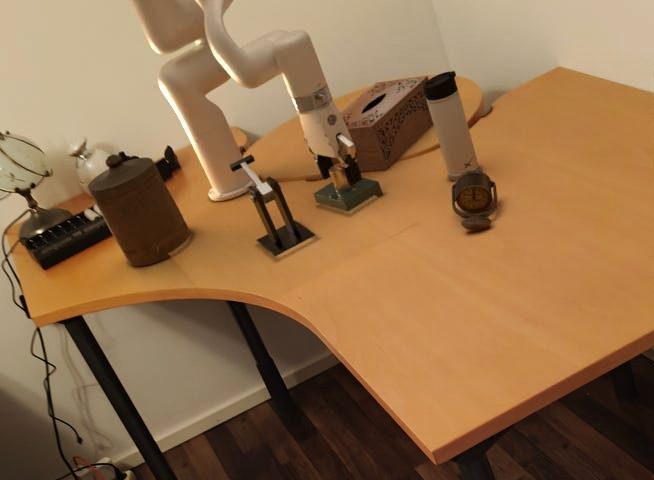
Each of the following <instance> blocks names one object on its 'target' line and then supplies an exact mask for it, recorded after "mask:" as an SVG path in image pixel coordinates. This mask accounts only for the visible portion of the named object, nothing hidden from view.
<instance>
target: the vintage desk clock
mask: <svg viewBox="0 0 654 480" xmlns="http://www.w3.org/2000/svg"><path fill="white" fill-rule="evenodd" d="M450 189H451V191H450V192H451V207H452V211H453V212H454V213H455V214H456V215H458V217H461V218H463V220H461V222H460V225H461V226H462V227H463V228H464V229H466V231H467V230H468V231H472V232H475V231H476V232H477V231H481V230H484V229H486V228H488V227H489V226H490V225H492V220H491V219H490V218H489V217H490V216H492V215H493V214H494V213H495V212H496V211H497V209H498V191H497V184H496V182H495V181H493V180H491V178H490V176H489V175H488V174H487V173H486V172H483V171H482V170H479V171H478V170H470V171H467V172H464V173H463V174H461V175H460V176H459V177H458V179H457V181H455V183H453V184H452V185H451V188H450ZM492 190H493V191H492ZM492 192H493V193H492ZM493 201H494V205H493V207H492V208H491V209H489V210H488V211H486V212H483V211H485V210H486V209H488V208H489V207H490V206H491V204H492V202H493ZM456 205H457V206H458V208H459V209H460V210H462V211H460V210H459V209H458V208H457V206H456ZM464 212H466V213H464ZM479 212H480V214H479ZM481 212H483V213H481ZM473 213H478V214H473Z"/></svg>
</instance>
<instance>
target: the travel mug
mask: <svg viewBox="0 0 654 480" xmlns="http://www.w3.org/2000/svg"><path fill="white" fill-rule="evenodd" d="M456 76H457V73H456V71H455V70H452V71H445V72H441V73H439V74H437V75H435V76H433V77H431V78H428V79H429V80H428V81H427V82H426V83H425V85H424V86H423V89H424V93H425V94H426V95H425V96H426V100H427V104H428V107H429V110H430V114H431V117H432V121H433V124H432V125H433V127H434V130H435V131H434V132H435V134H436V138H437V141H438V144H439V147H440V151H441V155H442V158H443V160H444V164H445V168H446V171H447V174H448V178H449V179H450V180H451V181H455V182H456V181H457V179H458V177H459V176H460V175H461V174H463V173H464V172H467V171H470V170H478V171H480V165H479V162H478V157H477V154H476V150H475V146H474V143H473V139H472V135H471V132H470V128H469V125H468V124H469V123H468V121H467V117H466V113H465V109H464V107H463V102H462V98H461V95H460V92H459V88H458V85H457V82H456Z"/></svg>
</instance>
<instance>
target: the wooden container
mask: <svg viewBox="0 0 654 480" xmlns="http://www.w3.org/2000/svg"><path fill="white" fill-rule="evenodd" d="M105 165H106V167H108V169H106V170H104V171H102V172H101V173H99V174H98V175H96V176H94V178H93V179H91V180H90V182H89V183H88V184H87V190H88V193H89V194H90V196H91V198H92V199H93V201H94V202H95V204H96V206H97V208H98V210H99V212H100V214H101V216H102V217H103V220H104V221H105V223H106V225H107V227H108V229H109V230H110V232H111V234H112V236H113V238H114V239H115V241H116V243H117V246H119V248H120V249H121V251H122V253H123V255H124V256H125V258H126V260H127V262H128V263H129V264H130V265H131V266H135V267H142V266H148V265H152V264H156V263H158V262H162V261H164V260H166V259H167V258H170V257H171V255H170V253H171V252H173V251H175V250H176V249H178V248H179V247H181V246H182V245H183V244H184V243H185V242H186V241H187V240H188V239H189V237H190V235H191V230H190V228H189V226H188V225H187V221H185V219H184V215H183V214H182V212H181V210H180V208H179V207H178V205H177V203H176V201H175V199H174V198H173V196H172V194H171V192H170V190H169V189H168V187H167V185H166V182H165V181H164V179H163V177H162V175H161V173H160V170H159V169H158V167H157V165H156V163H155V161H154V160H153V159H152V157H151V158H150V157H138V158H133V159H130V160H126V161H124V162H123V158H122V157H121V155H119V154H111V155H109V156H107V158H106V160H105Z"/></svg>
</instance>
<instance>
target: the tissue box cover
mask: <svg viewBox="0 0 654 480" xmlns="http://www.w3.org/2000/svg"><path fill="white" fill-rule="evenodd" d="M429 79H430V78H429V76H428V75H425V76H424V75H423V76H417V77H411V78H410V77H408V78H400V79H394V80H393V79H392V80H385V81H378V82H375V83H374V84H373V85H371V86H369V88H368V89H367V90H365V91H364V92H363V93H362V94H361V95H359V96H358V97H357V98H356V99H355V100H354V101H353V102H352V103H350V104H349V105H348V106H347V107H345V108H344V109H343V110H342V111H341V112H340V114H341V116H342V118H343V120H344V122H345V124H346V127H347V129H348V131H349V134H350V136H351V139H352V141H353V144H354V145H355V148H356V154H357V157H356V158H357V165H358V167H359V170H360V172H374V171H375V172H377V171H387V170H389V168H390V167H391V166H393V164H394V163H395V162H396V161H397V160H398V159H399V158H400V157H401V156H402V155H403V154H404V153H405V152H406V151H407V150H409V148H410V147H411V146H412V145H413V144H414V143H416V141H418V140H419V138H421V137H422V136H423V134H425V133H426V132H427V131H428V130H429V129H430V128H431V126H433V125H434V124H433V121H432V117H431V114H430V110H429V107H428V104H427V100H426V96H425V95H426V94H425V93H424V89H423V86H424V85H425V83H426V82H427V81H428V80H429ZM342 150H344V149H341V150H340V151H342ZM340 151H338V152H340ZM346 155H347V154H345V155H343V158H344V159H346ZM331 160H332V162H333V165H336V164H339V163H341V162H340V161H339V160H338V158H333V157H331Z"/></svg>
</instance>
